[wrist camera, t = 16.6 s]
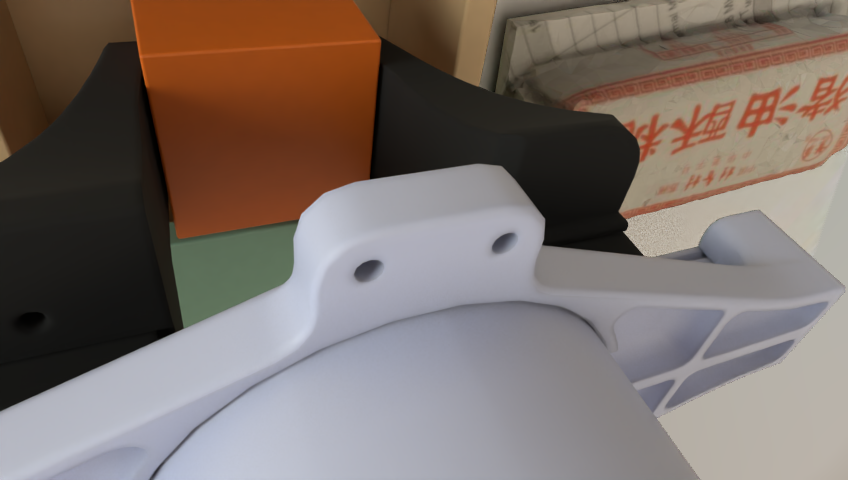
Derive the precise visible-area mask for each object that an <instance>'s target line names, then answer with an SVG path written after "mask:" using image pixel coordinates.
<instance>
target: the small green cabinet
mask: <svg viewBox="0 0 848 480" xmlns="http://www.w3.org/2000/svg"><path fill="white" fill-rule="evenodd" d="M298 222H299V219H297V220H291V221H285V222H279V223H273V224H267V225H261V226H255V227H249V228H243V229H237V230H231V231H225V232H219V233H213V234H207V235H201V236H195V237H189V238H183V239H178V237H177V235H176V230H175V225H174V222H169V225H170V245H171V254H172V263H173V269H174V274H175V280H176V286H177V292H178V297H179V303H180V309H181V315H182V320H183V326H184V328H187V327H189V326H191V325H193V324H196V323H198V322H200V321H202V320H204V319H207V318H209V317H211V316H213V315H216V314H218V313H220V312H222V311H224V310H227V309H229V308H231V307H233V306H236V305H238V304H240V303H242V302H244V301H247V300H249V299H251V298H253V297H256V296H258V295H260V294H262V293H264V292H267V291H269V290H271V289H273V288H276V287H278V286H280V285H282V284H284V283H285V282H286V281H287V280H288V279H289V278H290V277H291V275H292V272H293V266H294V243H293V238H294V235H295V232H296V229H297V226H298Z"/></svg>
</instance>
